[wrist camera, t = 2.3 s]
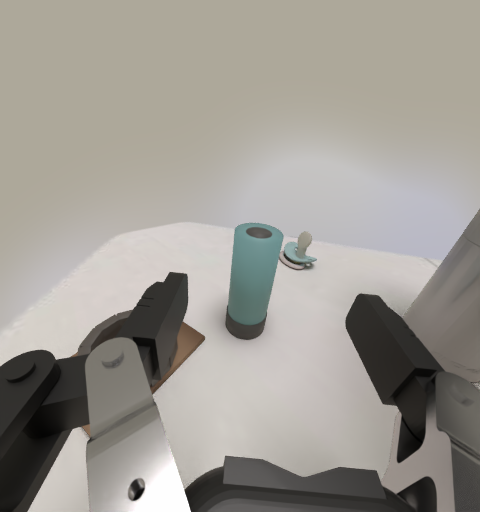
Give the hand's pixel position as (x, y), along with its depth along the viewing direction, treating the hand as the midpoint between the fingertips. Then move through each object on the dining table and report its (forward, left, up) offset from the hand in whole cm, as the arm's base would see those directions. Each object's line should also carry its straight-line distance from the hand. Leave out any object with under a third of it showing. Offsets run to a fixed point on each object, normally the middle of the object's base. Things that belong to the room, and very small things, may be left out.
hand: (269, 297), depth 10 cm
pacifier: (-30, -6, -15) cm, 34 cm away
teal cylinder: (-10, -6, -15) cm, 19 cm away
